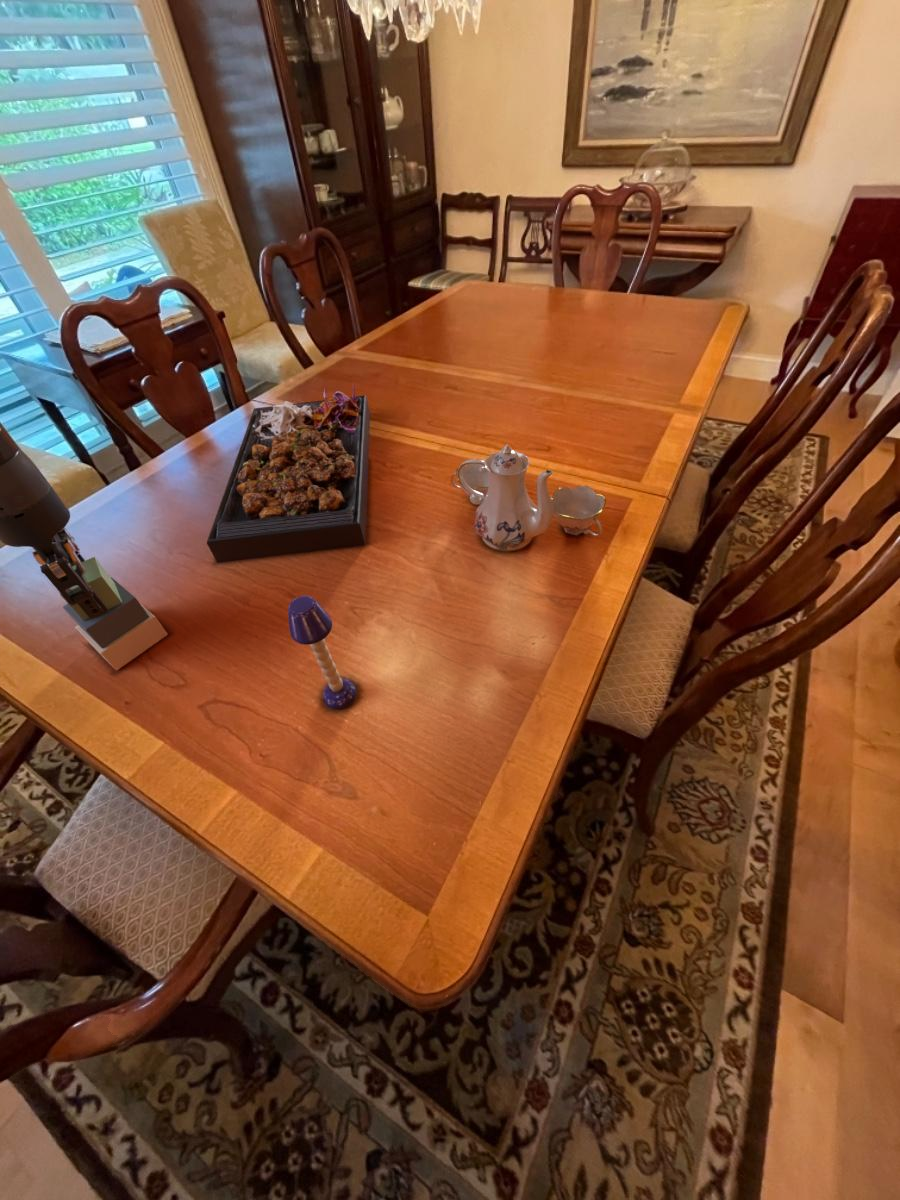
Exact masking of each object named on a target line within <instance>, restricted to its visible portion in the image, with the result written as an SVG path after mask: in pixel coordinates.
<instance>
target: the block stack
mask: <svg viewBox="0 0 900 1200" xmlns="http://www.w3.org/2000/svg"><path fill="white" fill-rule="evenodd" d="M110 578H111V579H112V580H113V582H114V583H115V585H116V588H117V590H118V593H119V595H120V598H121V601H122V604H119V605H117V606H115V607H113V608H111V609H108V611H107V612H106V613H105V614H103V615H100V616H98V617H96V618H89V619H87V620H85V621H83V620H82V619H81V618H80V617H79V616H78V614H77V613H76V612H75V611H74V610H73V609H72V608H71V606H70V605H69V604H68V603H66V604H65V605H63V606H62V609H64V610H65V612H66V613H67V614H68V615H69V617H70V618H72V619H73V621H74V622H75V623H76V624H77V625H75V626H74V628H75V629H76V630H77V632H79V633H80V635H81V636H82V637H83V638H84V639H85V640H86V642H87V643H89V645H90V646H91V647H93V649H94V650H95V651H96V652H97V653H98V654H99V655H100V656H101V657H102V658H103V659H104V660H105V661H106V662H107V663H108V664H109V665H110V666H111V667H112V668H113V669H114V670H115V671H118V670H120V669H121V668H122V667H124V666H125V665H127V664H128V663H130V662H132V661H133V660H134V659H135V658H137V657H138V656H139V655H141V654H143V653H144V652H146V651H147V650H148V649H150V648H151V647H152V646H154V645H156V644H157V643H158V642H159V641H161V640H162V639H164V638H165V637H167V636H168V632H167V630H165V628H164V626H163V625H162V624H161V623H160V621H159V620H158V618H157V617H156V616H155V615H154V614H153V613H152V612H151V611H150V610H149V609H147V608H146V607H145V606H143V605H142V604H141V603H140V601H139V600H138V598H137V597H136V596H135V595H133V594H132V593H131V592H130V591H129V590H128V589H126V588H125V587H124V586H123V585H122V584H121V583H119V582H118V581H117V580H116V579H115V578H113V577H111V576H110Z"/></svg>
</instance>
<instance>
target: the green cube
mask: <svg viewBox="0 0 900 1200" xmlns="http://www.w3.org/2000/svg"><path fill="white" fill-rule="evenodd" d="M81 563H82V565H83V566H84V568H85V569H86V573H85V575H84V576H85V578H86V579H87V581H88V583H89V584H90V585H91V586H92V587H93V590H94V592H95V593H96V594H97V595H98V597H99V598H100V599H101V600H102V602H103V603H104V604H105V605H106V607H107V610H108V609H111V608H113V607H115V606H117V605H119V604H122V601H121V598H120V595H119V593H118V590H117V588H116V585H115V583H114V582H113V580H112V579H111V576H110V575H109V573H108V572H107V571H106V569H105V568H104V566H103V565H102V564H101V563H100V562H99V560H98V559H97V558H96V556H93V557H90V558H88V559H85V561H83V562H81ZM72 568H73V569H74V570H75V569H76V565H75V566H73V567H72ZM78 587H79V586H77V585H76V586H73V587H71V590H73V589H76V588H78ZM59 595H60V597H61V598H62V599H63V600H64V601H65V602H66V604H68V602H67V600H66V599H65V598H64V597H63V595H62V594H61V593H60V592H59ZM69 605H70V604H69ZM70 606H71V605H70ZM71 608H72V609H73V610H74V611H75V612H76V613H77V614H78V616H79V617H80V618H81V619H82V620H83V621H85V620H87V619H89V617H88V615H87V614H86V613H85V612H84V611H83V610H82V608H81V607H80V606H79V605H78V604H75V605H73V606H71Z"/></svg>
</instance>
